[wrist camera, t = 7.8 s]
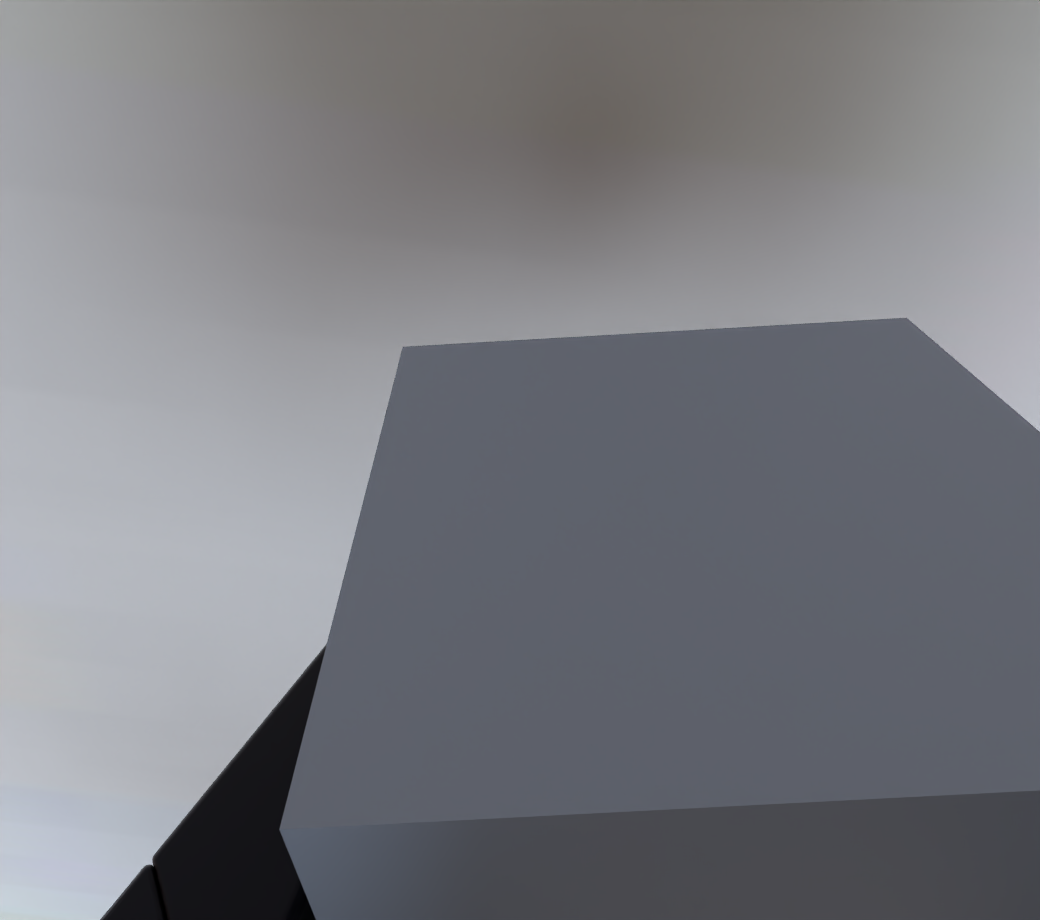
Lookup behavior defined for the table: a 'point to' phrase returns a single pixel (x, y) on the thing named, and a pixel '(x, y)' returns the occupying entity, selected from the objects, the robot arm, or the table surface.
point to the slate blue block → (684, 638)
